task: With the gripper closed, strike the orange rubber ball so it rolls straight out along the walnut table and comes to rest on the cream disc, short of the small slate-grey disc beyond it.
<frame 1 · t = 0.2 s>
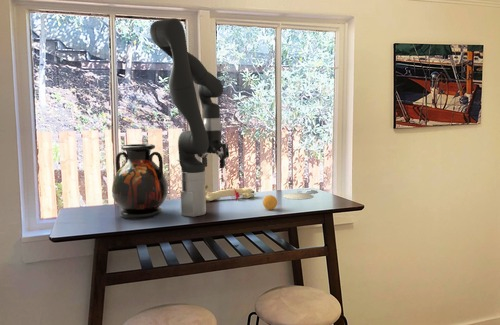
hand: (213, 167, 181), 17 cm above the table, tool pointing down, fingers open, 8 cm apart
cat figure: (229, 200, 199), on the table
amphora vase: (141, 215, 171), on the table
ball: (270, 202, 178), on the table
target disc: (298, 196, 204), on the table
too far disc: (307, 191, 215), on the table
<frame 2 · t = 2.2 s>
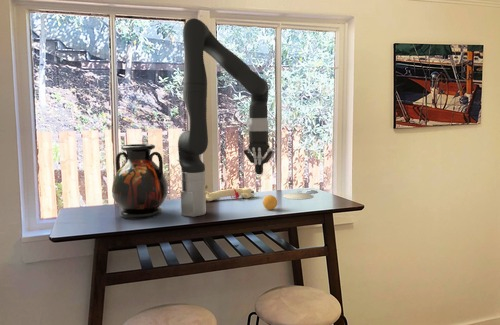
hand: (259, 174, 168), 16 cm above the table, tool pointing down, fingers closed
nothing on the table moved.
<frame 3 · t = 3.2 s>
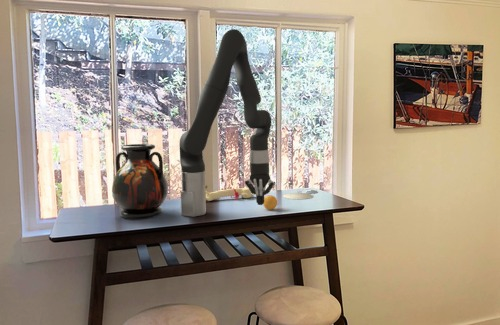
hand: (260, 204, 170), 4 cm above the table, tool pointing down, fingers closed
nothing on the table moved.
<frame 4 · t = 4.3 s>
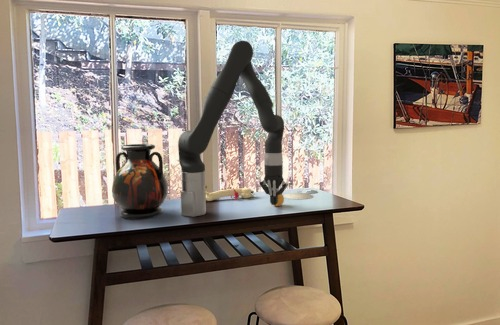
hand: (274, 204, 180), 2 cm above the table, tool pointing down, fingers closed
ball: (276, 199, 184), on the table
everything else where it was.
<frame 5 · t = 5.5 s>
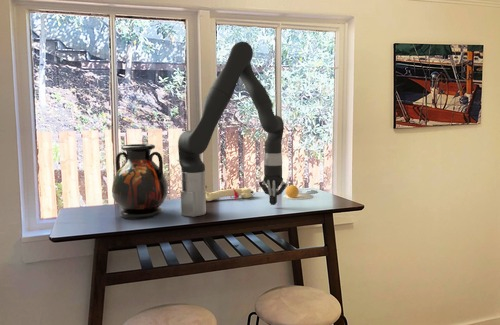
hand: (273, 204, 180), 2 cm above the table, tool pointing down, fingers closed
ball: (292, 191, 200), on the table
everything else where it was.
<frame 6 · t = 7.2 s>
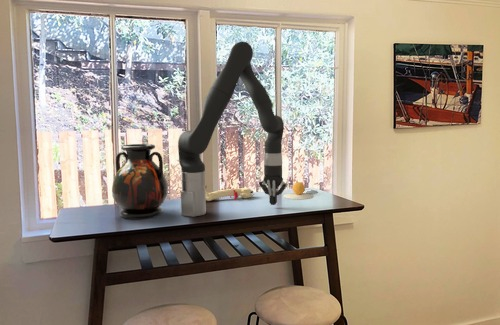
hand: (273, 204, 180), 2 cm above the table, tool pointing down, fingers closed
ball: (298, 188, 208), on the table
everything else where it was.
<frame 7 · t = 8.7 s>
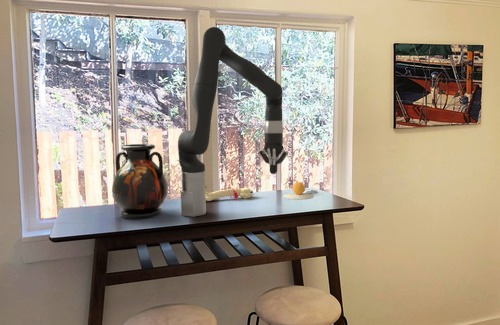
hand: (273, 173, 178), 15 cm above the table, tool pointing down, fingers closed
nothing on the table moved.
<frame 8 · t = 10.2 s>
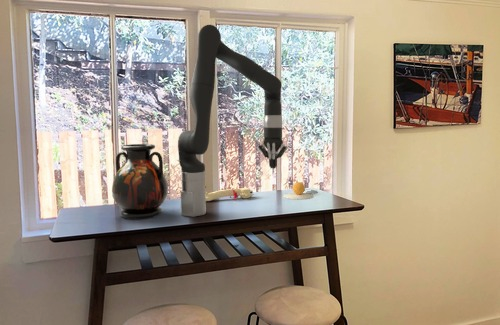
hand: (273, 168, 179), 17 cm above the table, tool pointing down, fingers closed
nothing on the table moved.
at the end: ball 4.7 cm from the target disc (horizontally); ball at rest at the end (0.0 cm/s); ball moved 34.5 cm from its start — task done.
